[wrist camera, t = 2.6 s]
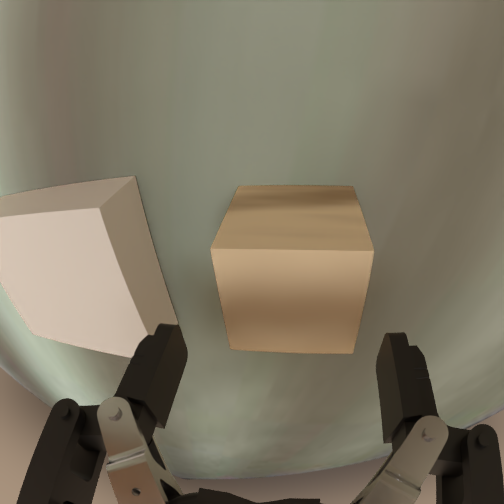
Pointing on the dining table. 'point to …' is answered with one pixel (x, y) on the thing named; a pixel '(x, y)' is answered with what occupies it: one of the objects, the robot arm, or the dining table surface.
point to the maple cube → (293, 268)
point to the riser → (83, 265)
